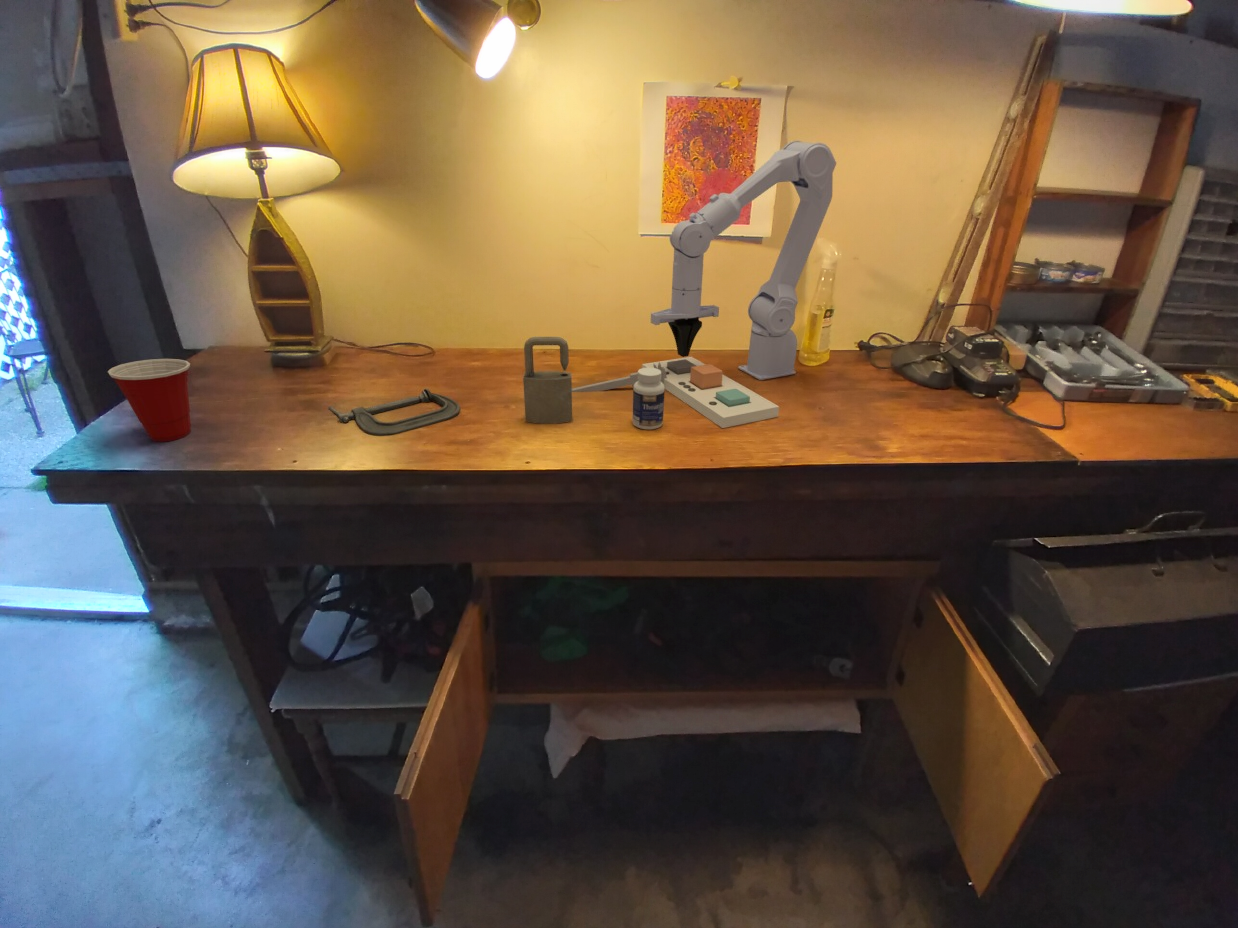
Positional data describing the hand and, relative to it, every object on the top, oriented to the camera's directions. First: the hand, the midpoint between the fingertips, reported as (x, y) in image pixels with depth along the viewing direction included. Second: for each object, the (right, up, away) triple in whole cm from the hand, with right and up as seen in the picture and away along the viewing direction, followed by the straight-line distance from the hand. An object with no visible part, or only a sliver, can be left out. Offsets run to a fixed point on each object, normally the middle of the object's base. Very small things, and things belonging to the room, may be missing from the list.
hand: (683, 355), depth 133 cm
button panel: (+4, -8, -5) cm, 10 cm away
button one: (+8, -12, -12) cm, 19 cm away
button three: (+4, -7, -6) cm, 9 cm away
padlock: (-25, -14, -17) cm, 33 cm away
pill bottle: (-8, -15, -18) cm, 25 cm away
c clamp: (-53, -14, -15) cm, 56 cm away
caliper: (-14, -8, -3) cm, 16 cm away
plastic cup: (-87, -17, -24) cm, 92 cm away
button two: (0, -4, +2) cm, 5 cm away
